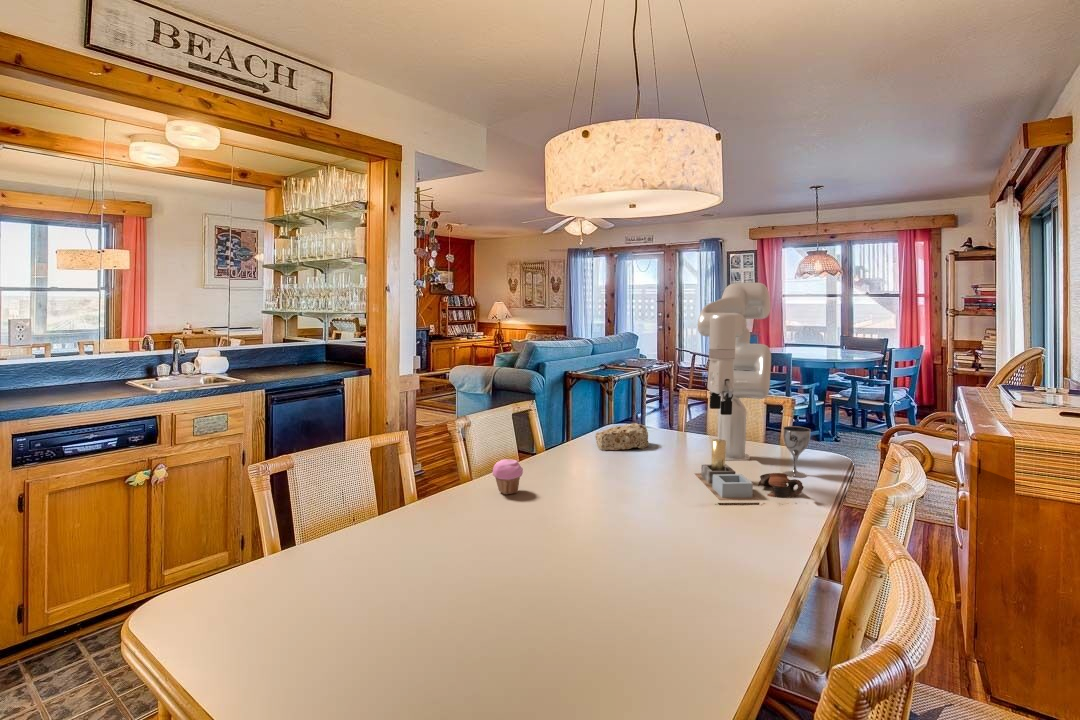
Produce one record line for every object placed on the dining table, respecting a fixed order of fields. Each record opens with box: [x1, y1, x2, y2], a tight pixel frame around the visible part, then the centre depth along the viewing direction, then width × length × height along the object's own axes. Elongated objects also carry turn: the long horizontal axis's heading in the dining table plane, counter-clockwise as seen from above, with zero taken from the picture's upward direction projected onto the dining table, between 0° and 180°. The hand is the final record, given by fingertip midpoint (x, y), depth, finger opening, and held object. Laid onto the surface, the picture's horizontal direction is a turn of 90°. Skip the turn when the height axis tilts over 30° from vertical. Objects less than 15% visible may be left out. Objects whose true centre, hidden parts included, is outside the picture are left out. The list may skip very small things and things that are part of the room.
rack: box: [712, 473, 754, 498], centre depth 158 cm, size 8×8×4 cm
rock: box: [594, 422, 649, 451], centre depth 216 cm, size 21×14×10 cm
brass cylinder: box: [710, 438, 726, 471], centre depth 170 cm, size 4×4×12 cm
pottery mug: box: [757, 472, 804, 499], centre depth 158 cm, size 12×10×8 cm
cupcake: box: [492, 458, 524, 495], centre depth 163 cm, size 9×9×10 cm
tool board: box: [694, 463, 760, 506], centre depth 164 cm, size 24×11×5 cm, turn 1°
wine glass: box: [782, 425, 811, 479], centre depth 179 cm, size 8×8×15 cm
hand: (720, 411), depth 168 cm, fingers open, 9 cm apart
